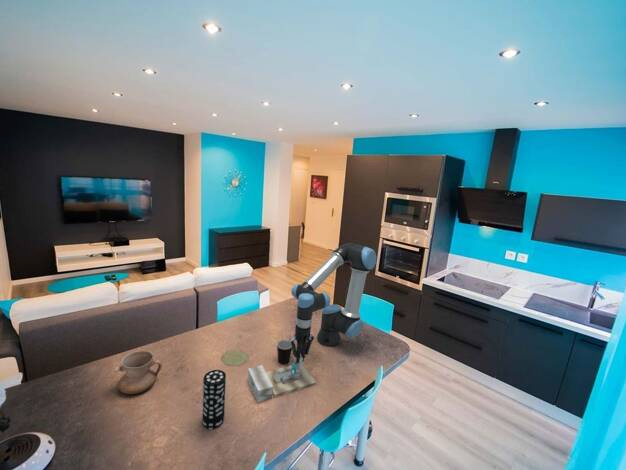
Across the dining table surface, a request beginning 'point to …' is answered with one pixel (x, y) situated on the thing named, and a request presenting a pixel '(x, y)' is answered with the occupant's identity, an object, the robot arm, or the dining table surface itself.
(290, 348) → the coffee mug
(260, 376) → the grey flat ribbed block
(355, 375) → the dining table surface
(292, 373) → the bolt
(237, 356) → the sand dollar
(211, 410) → the white-spotted black cylinder
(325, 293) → the robot arm
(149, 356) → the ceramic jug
